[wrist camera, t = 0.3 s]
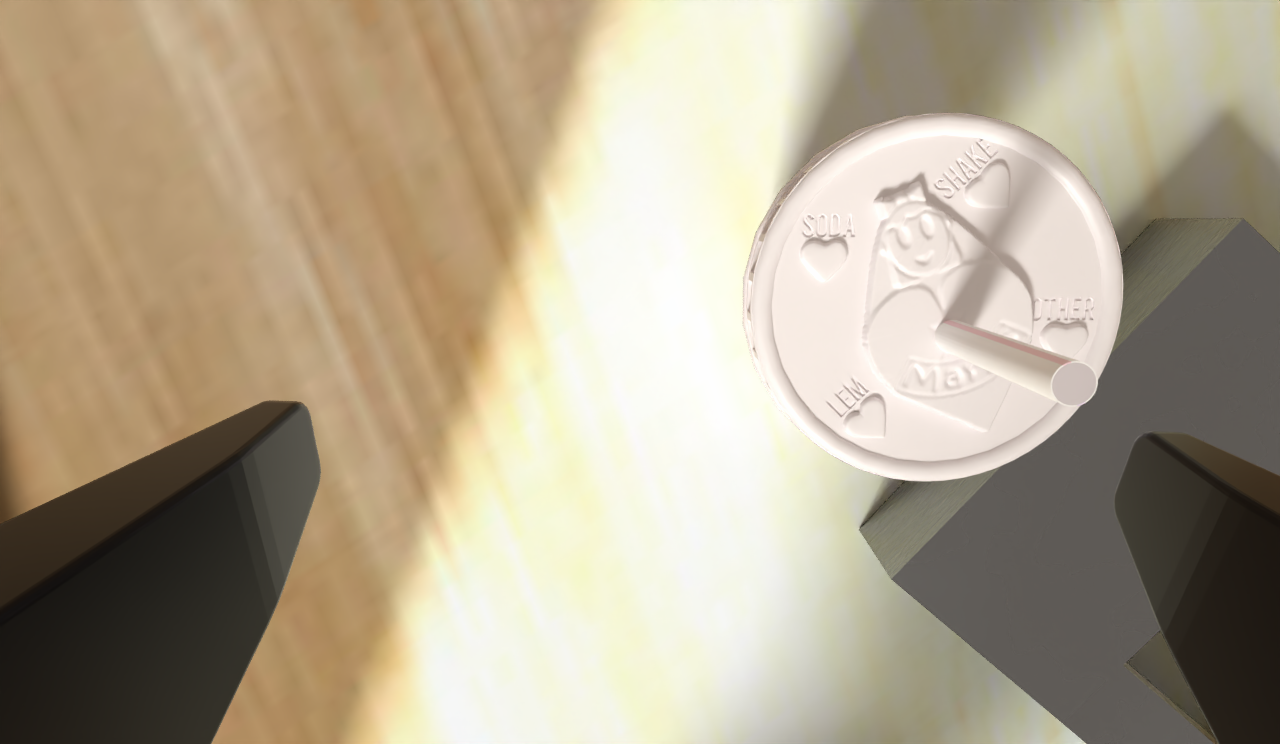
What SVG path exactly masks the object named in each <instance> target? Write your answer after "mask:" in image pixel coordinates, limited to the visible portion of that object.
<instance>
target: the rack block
mask: <svg viewBox="0 0 1280 744" xmlns="http://www.w3.org/2000/svg"><path fill="white" fill-rule="evenodd" d="M1121 262H1122V271H1123V303H1122V310H1121V317H1120V323H1119V327H1118V331H1117V335H1116V339H1115V342H1114V345H1113V348H1112V350H1111V353H1110V356H1109V358H1108V361H1107V363H1106V365H1105V367H1104V369H1103V371H1102V373H1101V375H1100V377H1099V379H1098V385H1097V389H1096V392H1095V394H1094V395H1093V397H1092V398H1091V399H1090V400H1089V401H1088V402H1086V403H1084V404H1083V405H1081V406H1080V407H1079V408H1078V409H1077V410H1076V412H1075V413H1074V414H1073V415H1072V416H1071V417H1070V418H1069V419H1068V420H1067V421H1066V422H1065V423H1064V424H1063V425H1062V426H1061V427H1060V428H1059V429H1058V430H1057V431H1056V432H1055V433H1053V434H1052V435H1051V436H1050V437H1049V438H1047V439H1046V440H1045V441H1044V442H1042V443H1041V444H1039V445H1038V446H1036V447H1035V448H1034V449H1032V450H1031V451H1029V452H1027V453H1026V454H1024V455H1022V456H1020V457H1018V458H1017V459H1015V460H1013V461H1011V462H1009V463H1006V464H1004V465H1002V466H1000V467H997V468H995V469H992V470H989V471H986V472H983V473H980V474H977V475H972V476H968V477H964V478H959V479H952V480H945V481H927V482H926V481H907V480H906V481H905V482H904V483H903V484H902V485H901V486H900V487H899V488H898V489H897V490H896V491H895V492H894V493H893V494H892V495H891V496H890V497H889V499H888V500H887V501H886V502H885V503H884V504H883V505H882V506H881V507H880V508H879V509H878V510H877V511H876V512H875V513H874V514H873V515H872V516H871V517H870V518H869V519H868V520H867V522H866V523H865V524H864V525H863V526H862V527H861V528H860V529H859V530H860V532H861V533H862V535H863V537H864V538H865V540H866V541H867V543H868V544H869V546H870V547H871V549H872V550H873V552H874V553H875V555H876V556H877V558H878V560H879V561H880V563H881V564H882V566H883V567H884V569H885V570H886V572H887V573H888V575H889V576H890V578H891V579H892V580H893V581H894V582H895V583H897V584H898V585H899V586H900V587H901V588H902V589H904V590H905V591H906V592H907V593H908V594H910V595H911V596H912V597H913V598H914V599H916V600H917V601H918V602H919V603H920V604H921V605H923V606H924V607H925V608H926V609H927V610H929V611H930V612H931V613H932V614H933V615H935V616H936V617H937V618H938V619H939V620H940V621H942V622H943V623H944V624H945V625H946V626H948V627H949V628H950V629H951V630H952V631H954V632H955V633H956V634H957V635H958V636H960V637H961V638H962V639H963V640H964V641H965V642H967V643H968V644H969V645H970V646H971V647H973V648H974V649H975V650H976V651H977V652H979V653H980V654H981V655H982V656H983V657H984V658H986V659H987V660H988V661H989V662H990V663H992V664H993V665H994V666H995V667H996V668H998V669H999V670H1000V671H1001V672H1002V673H1003V674H1005V675H1006V676H1007V677H1008V678H1009V679H1011V680H1012V681H1013V682H1014V683H1015V684H1017V685H1018V686H1019V687H1020V688H1021V689H1023V690H1024V691H1025V692H1026V693H1027V694H1028V695H1030V696H1031V697H1032V698H1033V699H1034V700H1036V701H1037V702H1038V703H1039V704H1040V705H1042V706H1043V707H1044V708H1045V709H1046V710H1047V711H1049V712H1050V713H1051V714H1052V715H1053V716H1055V717H1056V718H1057V719H1058V720H1059V721H1061V722H1062V723H1063V724H1064V725H1065V726H1066V727H1068V728H1069V729H1070V730H1071V731H1072V732H1074V733H1075V734H1076V735H1077V736H1078V737H1080V738H1081V739H1082V740H1083V741H1084V742H1085V743H1087V744H1218V742H1217V740H1216V739H1215V738H1214V737H1213V736H1212V735H1210V734H1209V733H1208V732H1207V731H1206V730H1205V729H1203V728H1202V727H1201V726H1200V725H1199V724H1198V723H1196V722H1195V721H1194V720H1193V719H1192V718H1191V717H1189V716H1188V715H1187V714H1186V713H1185V712H1184V711H1183V710H1181V709H1180V708H1179V707H1178V706H1177V705H1176V704H1174V703H1173V702H1172V701H1171V700H1170V699H1169V698H1167V697H1166V696H1165V695H1164V694H1163V693H1162V692H1160V691H1159V690H1158V689H1157V688H1156V687H1155V686H1153V685H1152V684H1151V683H1150V682H1149V681H1148V680H1147V679H1145V678H1144V677H1143V676H1142V675H1141V674H1140V673H1138V672H1137V671H1136V670H1135V669H1134V668H1133V667H1131V666H1130V665H1129V664H1128V663H1127V661H1128V660H1129V659H1130V658H1131V657H1132V656H1134V655H1135V654H1136V653H1137V652H1138V651H1139V650H1140V649H1141V648H1142V647H1143V646H1144V645H1145V644H1146V643H1147V642H1148V641H1149V640H1150V639H1151V638H1153V637H1154V636H1155V635H1156V634H1157V633H1158V632H1159V631H1160V628H1159V625H1158V623H1157V621H1156V618H1155V616H1154V613H1153V611H1152V608H1151V606H1150V603H1149V601H1148V598H1147V595H1146V593H1145V590H1144V588H1143V585H1142V583H1141V580H1140V577H1139V575H1138V572H1137V570H1136V567H1135V564H1134V562H1133V559H1132V557H1131V554H1130V552H1129V549H1128V546H1127V544H1126V541H1125V539H1124V536H1123V534H1122V531H1121V528H1120V526H1119V523H1118V521H1117V518H1116V515H1115V510H1114V495H1115V491H1116V488H1117V485H1118V483H1119V480H1120V477H1121V475H1122V472H1123V469H1124V467H1125V464H1126V462H1127V459H1128V456H1129V454H1130V451H1131V448H1132V446H1133V444H1134V442H1135V440H1136V439H1137V437H1138V436H1139V435H1141V434H1143V433H1145V432H1149V431H1157V432H1180V433H1185V434H1188V435H1191V436H1193V437H1195V438H1197V439H1199V440H1202V441H1204V442H1206V443H1208V444H1210V445H1213V446H1215V447H1217V448H1219V449H1222V450H1224V451H1226V452H1228V453H1230V454H1233V455H1235V456H1237V457H1239V458H1241V459H1244V460H1246V461H1248V462H1250V463H1252V464H1255V465H1257V466H1259V467H1261V468H1264V469H1266V470H1268V471H1270V472H1272V473H1275V474H1277V475H1279V476H1280V253H1279V252H1278V251H1277V250H1276V249H1275V248H1274V247H1273V246H1272V245H1271V244H1270V243H1268V242H1267V241H1266V240H1265V239H1264V238H1263V237H1262V236H1261V235H1260V234H1259V233H1258V232H1257V231H1256V230H1255V229H1254V228H1253V227H1252V226H1251V225H1250V224H1249V223H1248V222H1246V221H1245V220H1244V219H1243V218H1223V219H1155V220H1154V221H1153V222H1152V223H1151V224H1150V225H1149V227H1148V228H1147V229H1146V230H1145V231H1144V232H1143V233H1142V234H1141V235H1140V236H1139V237H1138V238H1137V239H1136V240H1135V241H1134V242H1133V243H1132V244H1131V245H1130V246H1129V247H1128V249H1127V250H1126V251H1125V252H1124V253H1123V254H1122V255H1121Z"/></svg>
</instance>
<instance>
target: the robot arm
mask: <svg viewBox="0 0 1280 744" xmlns="http://www.w3.org/2000/svg"><path fill="white" fill-rule="evenodd" d="M320 474H321V468H320V460H319V455H318V450H317V445H316V440H315V436H314V431H313V426H312V421H311V416H310V413H309V411H308V409H307V407H306V406H305V405H304V404H303V403H301V402H296V401H264V402H262V403H259V404H257V405H255V406H253V407H251V408H249V409H246V410H244V411H242V412H240V413H238V414H236V415H234V416H231V417H229V418H227V419H225V420H223V421H221V422H219V423H216V424H214V425H212V426H210V427H208V428H206V429H203V430H201V431H199V432H197V433H195V434H193V435H191V436H188V437H186V438H184V439H182V440H180V441H178V442H176V443H173V444H171V445H169V446H167V447H165V448H163V449H161V450H158V451H156V452H154V453H152V454H150V455H148V456H145V457H143V458H141V459H139V460H137V461H135V462H133V463H130V464H128V465H126V466H124V467H122V468H120V469H118V470H115V471H113V472H111V473H109V474H107V475H105V476H103V477H100V478H98V479H96V480H94V481H92V482H90V483H87V484H85V485H83V486H81V487H79V488H77V489H75V490H72V491H70V492H68V493H66V494H64V495H62V496H60V497H57V498H55V499H53V500H51V501H49V502H47V503H45V504H42V505H40V506H38V507H36V508H34V509H32V510H29V511H27V512H25V513H23V514H21V515H19V516H17V517H14V518H12V519H10V520H8V521H6V522H4V523H2V524H0V744H211V743H212V741H213V739H214V737H215V735H216V733H217V731H218V729H219V727H220V725H221V722H222V720H223V718H224V716H225V714H226V712H227V710H228V708H229V706H230V704H231V702H232V699H233V697H234V695H235V693H236V691H237V689H238V687H239V685H240V683H241V681H242V679H243V676H244V674H245V672H246V670H247V668H248V666H249V664H250V662H251V660H252V658H253V656H254V653H255V651H256V649H257V647H258V645H259V643H260V641H261V639H262V637H263V635H264V633H265V631H266V628H267V626H268V624H269V622H270V620H271V618H272V615H273V613H274V611H275V609H276V606H277V604H278V602H279V599H280V597H281V594H282V591H283V589H284V586H285V583H286V580H287V577H288V575H289V572H290V569H291V566H292V563H293V560H294V557H295V554H296V551H297V548H298V545H299V542H300V539H301V536H302V533H303V530H304V527H305V525H306V522H307V519H308V516H309V513H310V510H311V507H312V504H313V501H314V498H315V495H316V492H317V489H318V486H319V482H320ZM1114 510H1115V515H1116V518H1117V521H1118V523H1119V526H1120V528H1121V531H1122V534H1123V536H1124V539H1125V541H1126V544H1127V546H1128V549H1129V552H1130V554H1131V557H1132V559H1133V562H1134V564H1135V567H1136V570H1137V572H1138V575H1139V577H1140V580H1141V583H1142V585H1143V588H1144V590H1145V593H1146V595H1147V598H1148V601H1149V603H1150V606H1151V608H1152V611H1153V613H1154V616H1155V618H1156V621H1157V623H1158V625H1159V628H1160V630H1161V632H1162V635H1163V637H1164V639H1165V641H1166V643H1167V645H1168V647H1169V649H1170V652H1171V654H1172V656H1173V658H1174V660H1175V662H1176V664H1177V665H1178V667H1179V669H1180V671H1181V673H1182V675H1183V677H1184V679H1185V681H1186V683H1187V685H1188V687H1189V689H1190V690H1191V692H1192V694H1193V696H1194V698H1195V700H1196V702H1197V704H1198V706H1199V708H1200V710H1201V712H1202V714H1203V715H1204V717H1205V719H1206V721H1207V723H1208V725H1209V727H1210V729H1211V731H1212V733H1213V735H1214V737H1215V739H1216V740H1217V742H1218V744H1280V476H1279V475H1277V474H1275V473H1272V472H1270V471H1268V470H1266V469H1264V468H1261V467H1259V466H1257V465H1255V464H1252V463H1250V462H1248V461H1246V460H1244V459H1241V458H1239V457H1237V456H1235V455H1233V454H1230V453H1228V452H1226V451H1224V450H1222V449H1219V448H1217V447H1215V446H1213V445H1210V444H1208V443H1206V442H1204V441H1202V440H1199V439H1197V438H1195V437H1193V436H1191V435H1188V434H1185V433H1180V432H1157V431H1149V432H1145V433H1143V434H1141V435H1139V436H1138V437H1137V439H1136V440H1135V442H1134V444H1133V446H1132V448H1131V451H1130V454H1129V456H1128V459H1127V462H1126V464H1125V467H1124V469H1123V472H1122V475H1121V477H1120V480H1119V483H1118V485H1117V488H1116V491H1115V495H1114Z"/></svg>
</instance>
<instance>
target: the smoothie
mask: <svg viewBox="0 0 1280 744" xmlns="http://www.w3.org/2000/svg"><path fill="white" fill-rule="evenodd" d="M1122 303H1123V271H1122V262H1121V255H1120V249H1119V245H1118V241H1117V238H1116V234H1115V230H1114V228H1113V225H1112V223H1111V220H1110V217H1109V215H1108V213H1107V211H1106V209H1105V207H1104V205H1103V203H1102V201H1101V199H1100V197H1099V196H1098V194H1097V193H1096V191H1095V190H1094V188H1093V187H1092V185H1091V184H1090V182H1089V181H1088V180H1087V179H1086V177H1085V176H1084V175H1083V174H1082V172H1081V171H1080V170H1079V169H1078V168H1077V167H1076V166H1075V165H1074V164H1073V163H1072V162H1071V161H1070V160H1069V159H1068V158H1067V157H1066V156H1065V155H1064V154H1062V153H1061V152H1060V151H1059V150H1057V149H1056V148H1055V147H1053V146H1052V145H1051V144H1049V143H1048V142H1046V141H1044V140H1043V139H1041V138H1040V137H1038V136H1037V135H1035V134H1033V133H1031V132H1029V131H1027V130H1024V129H1022V128H1020V127H1018V126H1015V125H1013V124H1010V123H1007V122H1004V121H1002V120H998V119H994V118H989V117H985V116H980V115H973V114H966V113H933V114H923V115H917V116H903V117H899V118H896V119H892V120H889V121H885V122H882V123H878V124H875V125H871V126H868V127H864V128H861V129H858V130H856V131H854V132H853V133H851V134H849V135H847V136H846V137H844V138H842V139H841V140H839V141H837V142H836V143H834V144H832V145H831V146H829V147H827V148H826V149H824V150H822V151H821V152H819V153H817V154H816V155H814V156H813V157H812V158H811V159H810V161H809V162H808V163H807V164H806V165H805V166H804V167H803V168H802V169H801V170H800V171H799V172H798V173H797V174H796V175H795V176H794V177H793V178H792V179H791V180H790V181H789V182H788V183H787V184H786V185H785V186H784V187H783V188H782V189H781V190H780V192H779V193H778V195H777V197H776V198H775V200H774V202H773V204H772V205H771V207H770V209H769V210H768V212H767V214H766V216H765V217H764V219H763V221H762V223H761V224H760V226H759V228H758V229H757V231H756V234H755V237H754V241H753V245H752V248H751V252H750V255H749V259H748V263H747V266H746V270H745V274H744V277H743V327H744V331H745V335H746V338H747V342H748V346H749V350H750V354H751V358H752V361H753V365H754V369H755V370H756V372H757V374H758V375H759V377H760V379H761V381H762V382H763V384H764V386H765V388H766V389H767V391H768V393H769V395H770V396H771V398H772V400H773V401H774V403H775V405H776V407H777V408H778V409H779V410H780V411H781V412H782V413H783V414H784V415H785V416H787V417H788V418H789V419H790V420H791V421H792V422H793V423H794V424H795V425H796V426H797V427H798V428H799V429H800V430H801V432H803V433H804V434H805V435H806V436H807V437H808V438H809V439H810V440H812V441H813V442H814V443H815V444H816V445H818V446H819V447H821V448H822V449H823V450H825V451H826V452H827V453H829V454H831V455H832V456H834V457H836V458H838V459H839V460H841V461H843V462H845V463H847V464H849V465H851V466H854V467H856V468H858V469H861V470H864V471H866V472H869V473H872V474H875V475H880V476H884V477H888V478H893V479H900V480H907V481H926V482H927V481H945V480H952V479H959V478H964V477H968V476H972V475H977V474H980V473H983V472H986V471H989V470H992V469H995V468H997V467H1000V466H1002V465H1004V464H1006V463H1009V462H1011V461H1013V460H1015V459H1017V458H1018V457H1020V456H1022V455H1024V454H1026V453H1027V452H1029V451H1031V450H1032V449H1034V448H1035V447H1036V446H1038V445H1039V444H1041V443H1042V442H1044V441H1045V440H1046V439H1047V438H1049V437H1050V436H1051V435H1052V434H1053V433H1055V432H1056V431H1057V430H1058V429H1059V428H1060V427H1061V426H1062V425H1063V424H1064V423H1065V422H1066V421H1067V420H1068V419H1069V418H1070V417H1071V416H1072V415H1073V414H1074V413H1075V412H1076V410H1077V409H1078V408H1079V407H1080V406H1081V405H1083V404H1084V403H1086V402H1088V401H1089V400H1090V399H1091V398H1092V397H1093V395H1094V394H1095V392H1096V389H1097V385H1098V379H1099V377H1100V375H1101V373H1102V371H1103V369H1104V367H1105V365H1106V363H1107V361H1108V358H1109V356H1110V353H1111V350H1112V348H1113V345H1114V342H1115V339H1116V335H1117V331H1118V327H1119V323H1120V317H1121V310H1122Z"/></svg>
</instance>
